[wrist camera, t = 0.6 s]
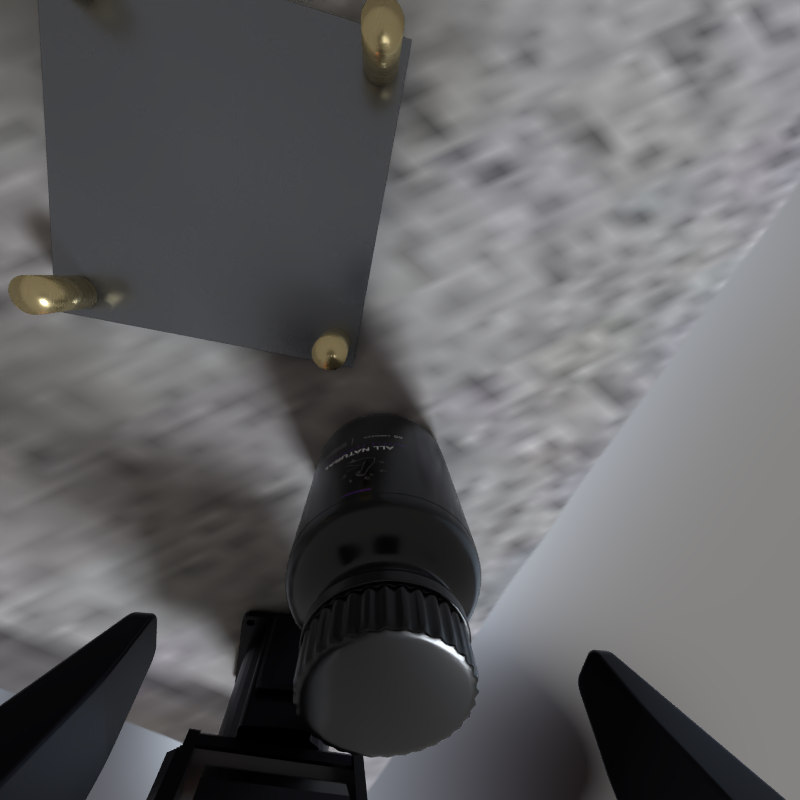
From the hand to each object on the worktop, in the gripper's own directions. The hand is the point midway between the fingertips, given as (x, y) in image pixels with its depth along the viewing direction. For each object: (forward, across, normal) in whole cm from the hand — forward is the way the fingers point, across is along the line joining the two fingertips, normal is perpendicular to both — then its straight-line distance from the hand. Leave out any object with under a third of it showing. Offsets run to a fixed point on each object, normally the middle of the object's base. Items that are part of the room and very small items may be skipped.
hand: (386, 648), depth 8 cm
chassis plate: (+13, +8, -10) cm, 18 cm away
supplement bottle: (+13, -1, +2) cm, 13 cm away
